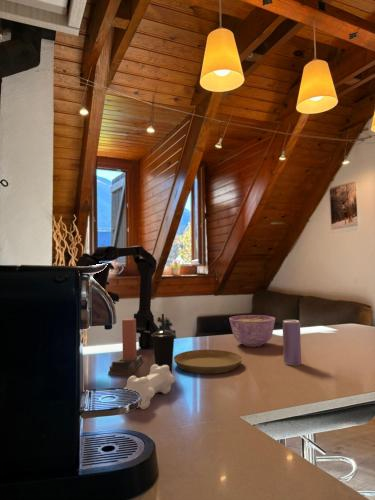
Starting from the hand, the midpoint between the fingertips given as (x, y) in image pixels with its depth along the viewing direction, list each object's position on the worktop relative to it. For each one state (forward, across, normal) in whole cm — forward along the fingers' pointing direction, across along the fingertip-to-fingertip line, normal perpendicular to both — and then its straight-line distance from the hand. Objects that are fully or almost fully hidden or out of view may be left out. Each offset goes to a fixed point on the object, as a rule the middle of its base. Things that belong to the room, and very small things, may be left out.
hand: (91, 319), depth 137 cm
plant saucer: (+11, +38, +23) cm, 46 cm away
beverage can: (+6, +63, +39) cm, 74 cm away
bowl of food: (-1, +38, +60) cm, 71 cm away
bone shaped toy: (+21, +41, -11) cm, 47 cm away
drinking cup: (+16, +32, +6) cm, 36 cm away
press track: (+15, +14, +8) cm, 22 cm away
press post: (+13, +12, +11) cm, 21 cm away
